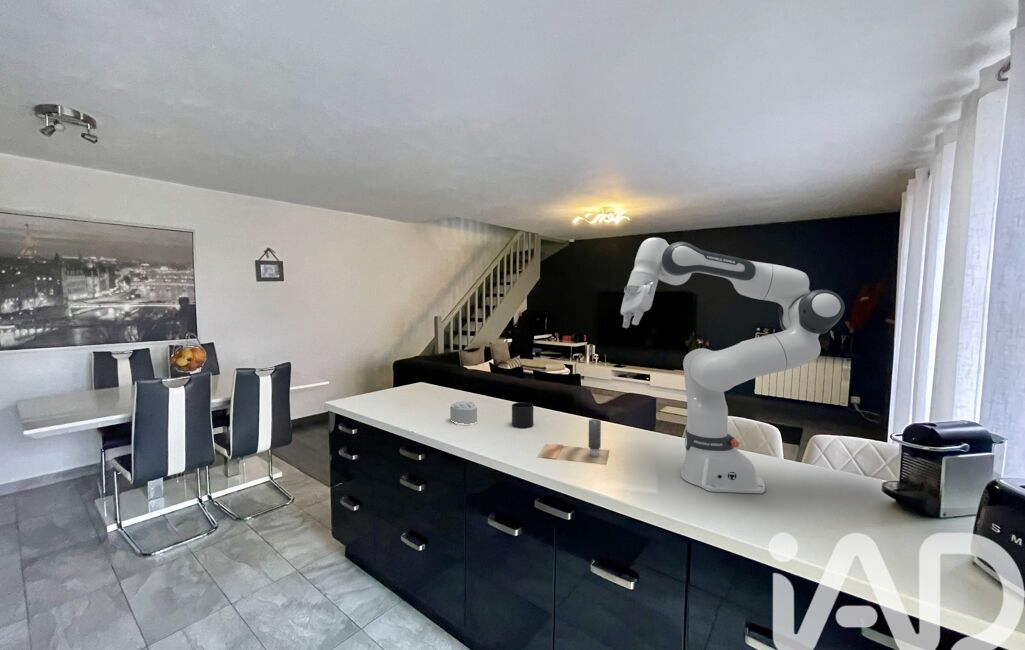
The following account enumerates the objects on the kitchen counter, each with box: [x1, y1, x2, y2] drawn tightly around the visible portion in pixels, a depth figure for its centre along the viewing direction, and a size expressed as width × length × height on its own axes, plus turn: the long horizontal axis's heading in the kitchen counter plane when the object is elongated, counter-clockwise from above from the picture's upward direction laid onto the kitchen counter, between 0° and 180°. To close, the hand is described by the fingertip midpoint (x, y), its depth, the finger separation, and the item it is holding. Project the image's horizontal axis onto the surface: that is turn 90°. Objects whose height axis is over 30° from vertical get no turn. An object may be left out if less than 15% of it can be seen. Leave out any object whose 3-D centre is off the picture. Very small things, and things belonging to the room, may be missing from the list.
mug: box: [511, 401, 534, 429], centre depth 187 cm, size 9×12×9 cm
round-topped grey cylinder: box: [588, 418, 602, 457], centre depth 144 cm, size 4×4×12 cm
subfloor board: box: [536, 443, 610, 466], centre depth 147 cm, size 23×14×2 cm, turn 73°
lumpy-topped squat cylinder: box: [449, 400, 478, 424], centre depth 192 cm, size 10×13×9 cm
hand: (629, 325), depth 137 cm, fingers open, 8 cm apart
